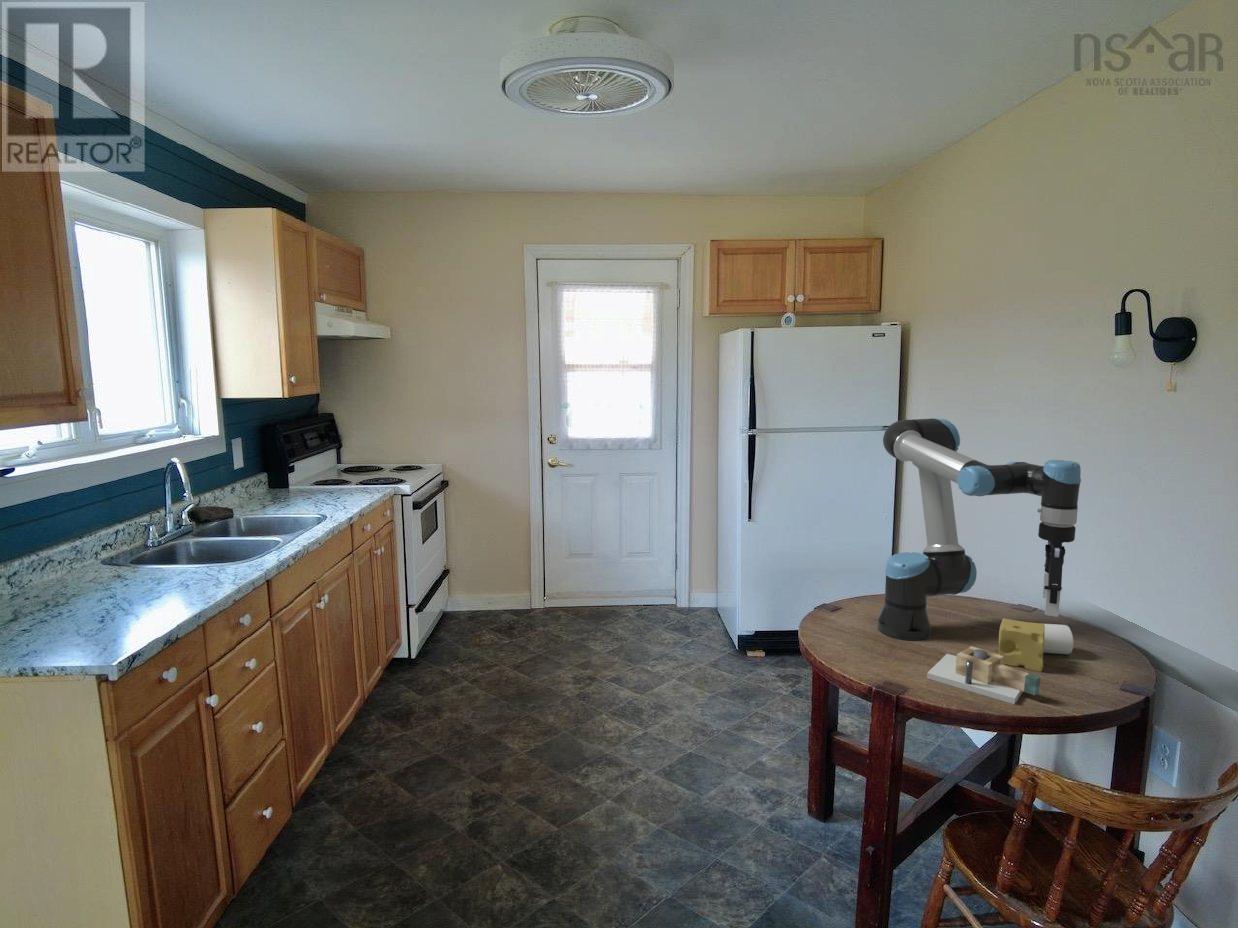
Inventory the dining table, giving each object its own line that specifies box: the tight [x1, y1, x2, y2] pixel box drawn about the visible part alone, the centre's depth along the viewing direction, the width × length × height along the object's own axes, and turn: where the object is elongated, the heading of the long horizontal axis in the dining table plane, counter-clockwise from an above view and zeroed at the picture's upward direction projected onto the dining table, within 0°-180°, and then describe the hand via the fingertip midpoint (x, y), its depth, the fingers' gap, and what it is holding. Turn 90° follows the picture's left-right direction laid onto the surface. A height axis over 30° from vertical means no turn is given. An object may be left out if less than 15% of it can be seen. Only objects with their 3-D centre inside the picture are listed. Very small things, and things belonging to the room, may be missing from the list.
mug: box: [1040, 623, 1074, 655], centre depth 189 cm, size 12×10×8 cm
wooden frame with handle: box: [955, 645, 1041, 696], centre depth 168 cm, size 18×8×5 cm, turn 37°
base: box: [926, 649, 1024, 705], centre depth 171 cm, size 20×16×8 cm
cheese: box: [998, 617, 1045, 673], centre depth 182 cm, size 10×11×10 cm
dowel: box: [965, 661, 973, 684], centre depth 167 cm, size 1×1×6 cm
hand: (1049, 606), depth 167 cm, fingers open, 13 cm apart
